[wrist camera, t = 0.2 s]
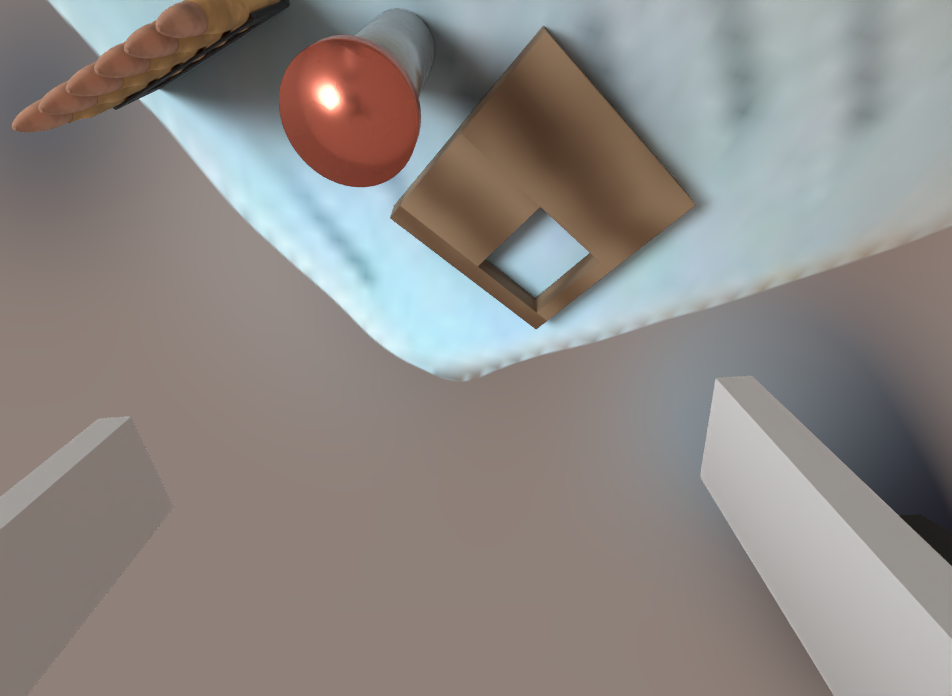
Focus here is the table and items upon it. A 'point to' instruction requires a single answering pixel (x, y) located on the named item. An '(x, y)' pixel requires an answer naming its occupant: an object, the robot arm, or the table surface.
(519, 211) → the walnut plate
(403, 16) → the steel pin
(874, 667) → the robot arm
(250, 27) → the ammunition clip
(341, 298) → the table surface
